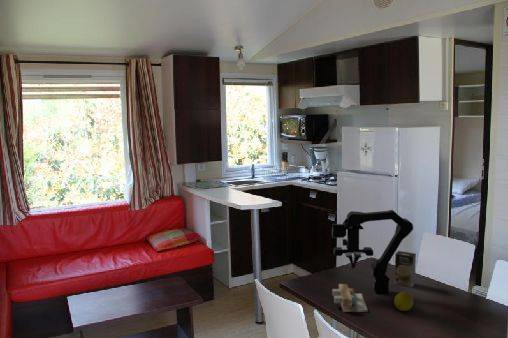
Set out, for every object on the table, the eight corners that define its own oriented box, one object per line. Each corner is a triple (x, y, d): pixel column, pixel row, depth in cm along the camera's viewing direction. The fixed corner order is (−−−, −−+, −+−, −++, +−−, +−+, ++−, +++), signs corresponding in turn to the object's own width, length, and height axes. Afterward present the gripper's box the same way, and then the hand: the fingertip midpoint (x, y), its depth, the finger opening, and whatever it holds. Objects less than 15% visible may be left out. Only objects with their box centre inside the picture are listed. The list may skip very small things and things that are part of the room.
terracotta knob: (352, 295, 215) (352, 286, 214) (354, 299, 211) (354, 289, 210) (332, 295, 216) (332, 285, 215) (333, 298, 211) (333, 289, 211)
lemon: (404, 316, 195) (405, 298, 194) (389, 310, 201) (389, 293, 200) (418, 309, 202) (418, 292, 201) (403, 303, 208) (403, 287, 207)
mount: (361, 295, 217) (361, 284, 217) (367, 311, 200) (367, 299, 199) (338, 295, 218) (338, 283, 218) (342, 311, 201) (342, 299, 200)
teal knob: (355, 302, 207) (355, 292, 206) (356, 306, 203) (356, 296, 202) (333, 302, 208) (333, 292, 207) (334, 306, 203) (334, 296, 203)
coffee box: (394, 284, 231) (394, 253, 229) (397, 280, 236) (398, 250, 234) (412, 287, 226) (413, 256, 224) (415, 283, 231) (416, 253, 229)
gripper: (369, 233, 226) (369, 262, 228) (332, 233, 228) (332, 262, 230) (373, 239, 215) (373, 270, 217) (334, 239, 217) (334, 270, 219)
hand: (353, 268), depth 221 cm, fingers closed
